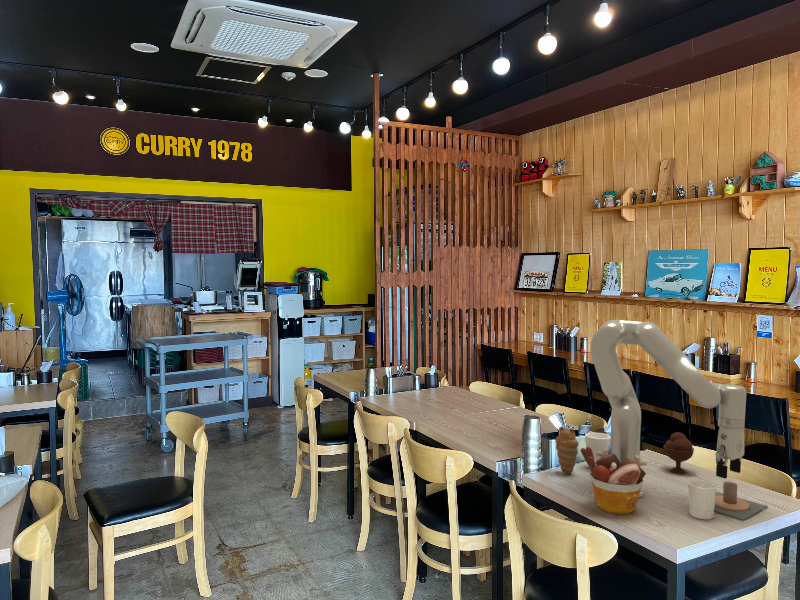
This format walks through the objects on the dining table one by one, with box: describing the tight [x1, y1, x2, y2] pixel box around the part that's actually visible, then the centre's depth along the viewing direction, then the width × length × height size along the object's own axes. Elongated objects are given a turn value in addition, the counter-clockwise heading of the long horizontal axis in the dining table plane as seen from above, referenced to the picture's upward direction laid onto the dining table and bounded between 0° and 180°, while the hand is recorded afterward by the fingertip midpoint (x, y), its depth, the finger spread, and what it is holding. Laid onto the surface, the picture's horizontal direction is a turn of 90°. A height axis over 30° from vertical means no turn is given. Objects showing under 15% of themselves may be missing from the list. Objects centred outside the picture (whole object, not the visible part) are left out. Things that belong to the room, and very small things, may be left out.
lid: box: [715, 481, 749, 511], centre depth 193 cm, size 11×11×7 cm
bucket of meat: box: [580, 447, 648, 515], centre depth 191 cm, size 20×16×20 cm
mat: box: [714, 491, 769, 522], centre depth 194 cm, size 18×16×1 cm
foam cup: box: [584, 432, 611, 466], centre depth 232 cm, size 10×9×13 cm
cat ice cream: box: [554, 425, 579, 475], centre depth 225 cm, size 9×8×18 cm
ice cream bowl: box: [662, 431, 695, 475], centre depth 228 cm, size 11×11×15 cm
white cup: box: [687, 479, 717, 521], centre depth 186 cm, size 8×8×10 cm
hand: (728, 474), depth 194 cm, fingers open, 9 cm apart
